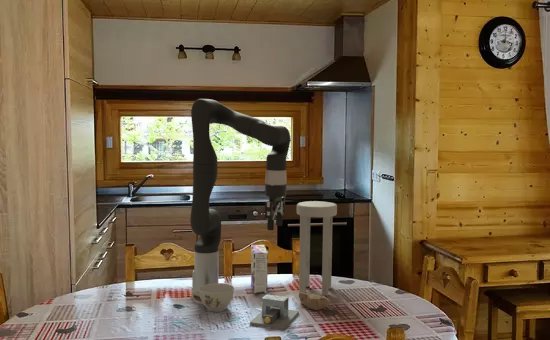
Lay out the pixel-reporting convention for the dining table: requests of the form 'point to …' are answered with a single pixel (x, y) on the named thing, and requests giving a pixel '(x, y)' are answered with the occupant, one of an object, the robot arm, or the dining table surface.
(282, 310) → the grey arch block
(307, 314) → the dining table surface
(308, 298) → the stone
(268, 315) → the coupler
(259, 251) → the candy box
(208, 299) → the teacup
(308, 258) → the stool
